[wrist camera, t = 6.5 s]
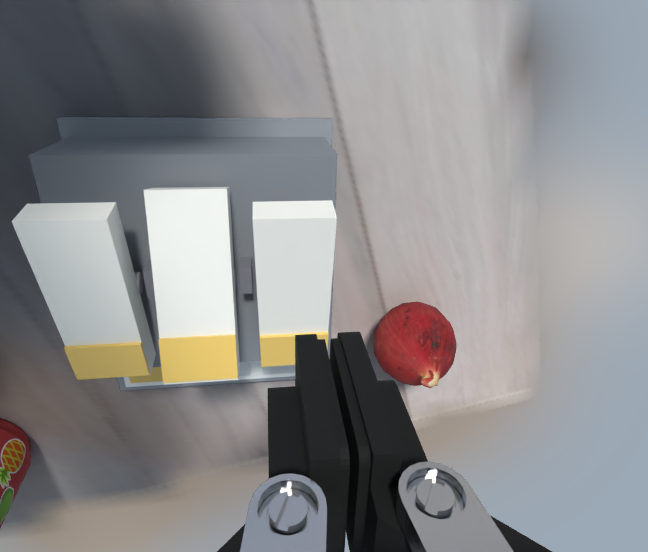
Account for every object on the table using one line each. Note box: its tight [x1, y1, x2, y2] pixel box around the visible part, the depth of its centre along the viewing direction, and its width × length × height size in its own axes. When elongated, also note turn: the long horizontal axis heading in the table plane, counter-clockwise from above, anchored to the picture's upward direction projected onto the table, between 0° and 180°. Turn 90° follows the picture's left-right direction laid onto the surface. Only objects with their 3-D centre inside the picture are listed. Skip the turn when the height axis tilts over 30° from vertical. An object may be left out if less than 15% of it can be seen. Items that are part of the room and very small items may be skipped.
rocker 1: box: [11, 202, 156, 380], centre depth 23 cm, size 10×4×3 cm, turn 179°
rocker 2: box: [144, 187, 240, 385], centre depth 23 cm, size 10×4×3 cm, turn 179°
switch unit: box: [28, 117, 337, 391], centre depth 28 cm, size 20×16×7 cm
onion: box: [373, 302, 456, 388], centre depth 32 cm, size 6×6×8 cm
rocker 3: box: [253, 200, 337, 367], centre depth 24 cm, size 10×4×3 cm, turn 179°
